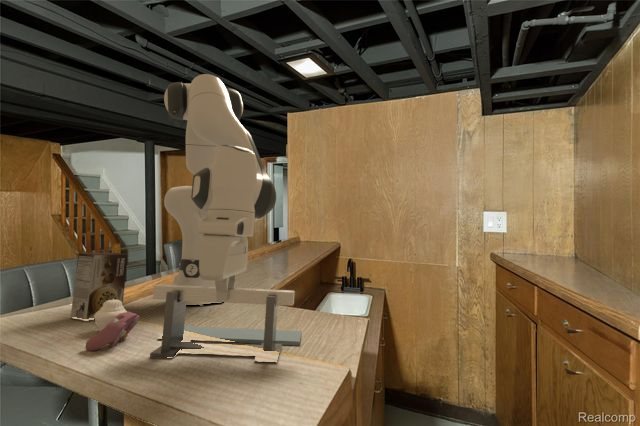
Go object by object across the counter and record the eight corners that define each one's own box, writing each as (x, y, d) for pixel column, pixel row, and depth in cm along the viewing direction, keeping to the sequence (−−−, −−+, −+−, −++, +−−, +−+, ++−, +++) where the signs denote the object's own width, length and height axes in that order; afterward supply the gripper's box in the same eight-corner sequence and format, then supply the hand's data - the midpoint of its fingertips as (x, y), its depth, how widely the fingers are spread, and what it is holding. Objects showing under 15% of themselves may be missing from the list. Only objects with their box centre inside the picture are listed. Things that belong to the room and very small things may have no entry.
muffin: (132, 330, 69) (136, 298, 69) (104, 337, 63) (108, 302, 64) (113, 326, 71) (117, 295, 72) (84, 332, 65) (89, 299, 66)
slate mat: (175, 329, 71) (175, 325, 71) (301, 334, 72) (301, 331, 72) (158, 339, 63) (158, 335, 63) (299, 345, 64) (300, 341, 64)
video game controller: (104, 361, 55) (127, 325, 56) (80, 349, 55) (104, 313, 56) (128, 343, 65) (148, 313, 66) (108, 333, 64) (128, 302, 65)
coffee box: (106, 312, 84) (113, 252, 86) (122, 315, 82) (129, 253, 83) (68, 318, 76) (77, 252, 77) (85, 322, 73) (94, 253, 75)
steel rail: (159, 296, 60) (160, 284, 60) (293, 303, 60) (294, 290, 60) (152, 299, 57) (154, 285, 57) (292, 305, 58) (293, 292, 58)
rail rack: (170, 343, 61) (176, 286, 62) (281, 348, 62) (285, 291, 63) (149, 357, 53) (156, 292, 54) (277, 363, 54) (281, 298, 55)
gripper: (228, 228, 70) (224, 290, 69) (194, 222, 50) (186, 309, 49) (256, 230, 70) (252, 291, 69) (234, 224, 50) (227, 311, 49)
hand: (225, 299), depth 59 cm, fingers closed on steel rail, 2 cm apart
